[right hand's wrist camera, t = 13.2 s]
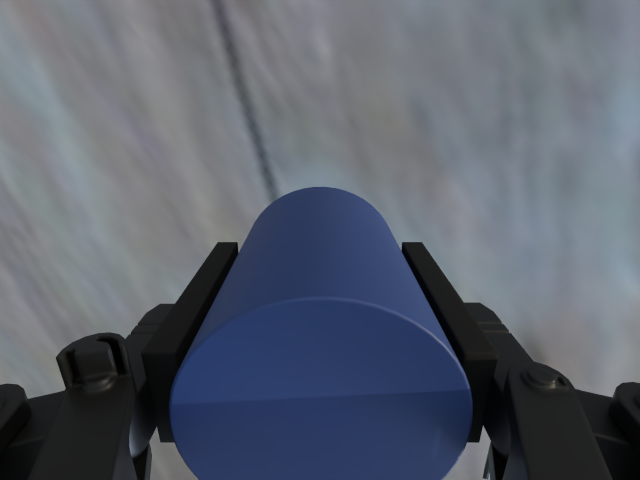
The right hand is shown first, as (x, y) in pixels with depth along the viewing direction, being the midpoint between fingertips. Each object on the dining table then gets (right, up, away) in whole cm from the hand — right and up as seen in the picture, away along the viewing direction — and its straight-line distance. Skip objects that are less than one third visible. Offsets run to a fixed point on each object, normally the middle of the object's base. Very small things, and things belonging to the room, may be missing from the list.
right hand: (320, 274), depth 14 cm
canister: (0, +1, +1) cm, 1 cm away
